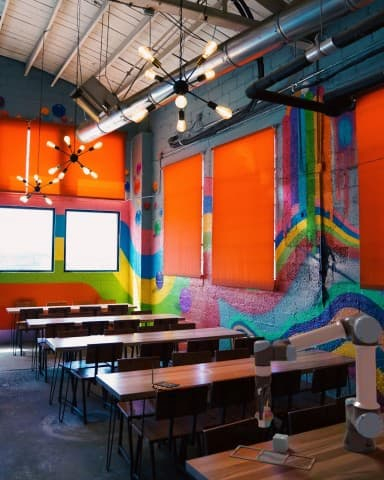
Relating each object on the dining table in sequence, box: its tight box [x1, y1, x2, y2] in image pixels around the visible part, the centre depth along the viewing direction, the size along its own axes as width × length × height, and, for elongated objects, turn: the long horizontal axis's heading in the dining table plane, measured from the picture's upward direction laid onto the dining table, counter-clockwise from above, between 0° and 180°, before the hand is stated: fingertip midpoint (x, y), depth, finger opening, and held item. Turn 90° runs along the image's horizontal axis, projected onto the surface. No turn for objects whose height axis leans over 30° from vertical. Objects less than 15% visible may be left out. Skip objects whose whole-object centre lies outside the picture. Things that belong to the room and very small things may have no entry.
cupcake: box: [254, 401, 275, 428], centre depth 217 cm, size 9×8×12 cm
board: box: [228, 444, 317, 471], centre depth 215 cm, size 14×37×1 cm, turn 64°
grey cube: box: [272, 433, 289, 453], centre depth 225 cm, size 6×6×6 cm
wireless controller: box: [151, 364, 180, 388], centre depth 342 cm, size 20×14×17 cm
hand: (264, 423), depth 217 cm, fingers closed on cupcake, 8 cm apart
